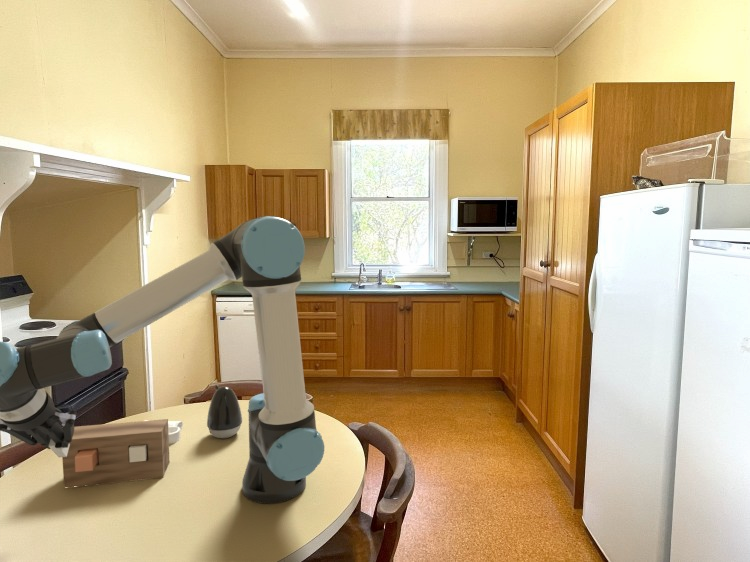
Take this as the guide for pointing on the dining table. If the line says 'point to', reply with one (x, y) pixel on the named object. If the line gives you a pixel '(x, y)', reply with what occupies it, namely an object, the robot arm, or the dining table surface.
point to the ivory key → (138, 452)
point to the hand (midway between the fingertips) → (64, 450)
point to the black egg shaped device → (224, 413)
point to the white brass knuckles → (174, 430)
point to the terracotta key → (86, 460)
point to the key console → (118, 452)
